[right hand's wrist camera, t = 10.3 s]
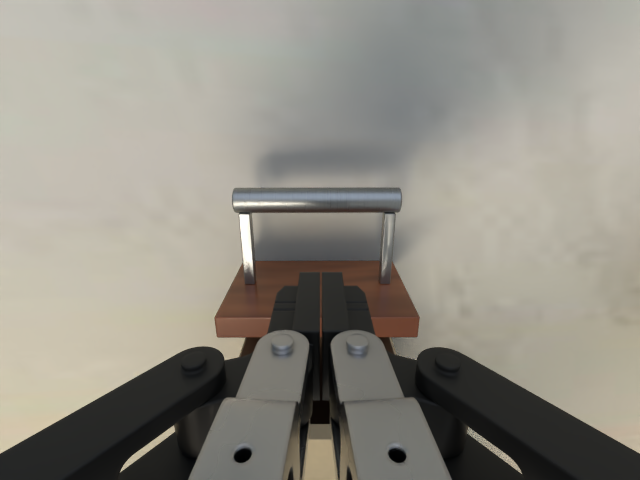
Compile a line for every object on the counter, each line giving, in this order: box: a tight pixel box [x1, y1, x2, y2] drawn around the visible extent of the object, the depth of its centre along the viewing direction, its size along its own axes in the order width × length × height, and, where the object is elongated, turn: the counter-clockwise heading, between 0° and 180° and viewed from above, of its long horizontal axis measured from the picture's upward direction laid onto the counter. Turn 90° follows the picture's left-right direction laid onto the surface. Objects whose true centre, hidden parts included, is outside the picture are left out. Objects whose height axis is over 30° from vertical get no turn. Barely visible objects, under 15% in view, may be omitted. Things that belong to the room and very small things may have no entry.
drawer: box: [215, 188, 420, 424], centre depth 21 cm, size 20×10×7 cm, turn 0°
